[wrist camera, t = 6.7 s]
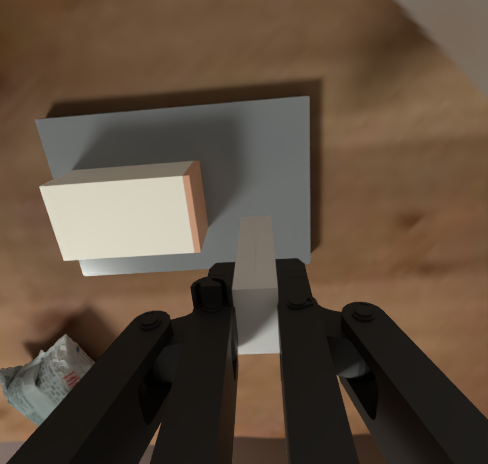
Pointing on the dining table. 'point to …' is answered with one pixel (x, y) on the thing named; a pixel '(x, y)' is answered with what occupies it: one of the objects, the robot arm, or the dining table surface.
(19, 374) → the packaged food
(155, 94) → the dining table surface
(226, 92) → the dining table surface
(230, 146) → the board
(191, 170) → the block
